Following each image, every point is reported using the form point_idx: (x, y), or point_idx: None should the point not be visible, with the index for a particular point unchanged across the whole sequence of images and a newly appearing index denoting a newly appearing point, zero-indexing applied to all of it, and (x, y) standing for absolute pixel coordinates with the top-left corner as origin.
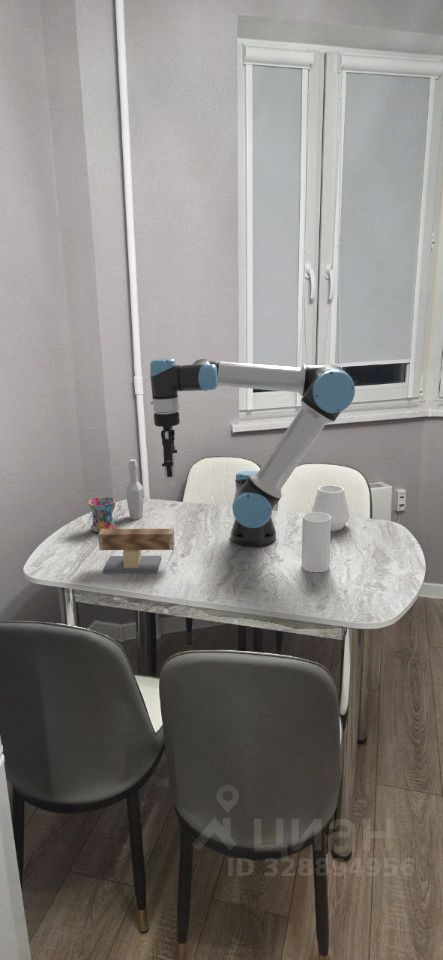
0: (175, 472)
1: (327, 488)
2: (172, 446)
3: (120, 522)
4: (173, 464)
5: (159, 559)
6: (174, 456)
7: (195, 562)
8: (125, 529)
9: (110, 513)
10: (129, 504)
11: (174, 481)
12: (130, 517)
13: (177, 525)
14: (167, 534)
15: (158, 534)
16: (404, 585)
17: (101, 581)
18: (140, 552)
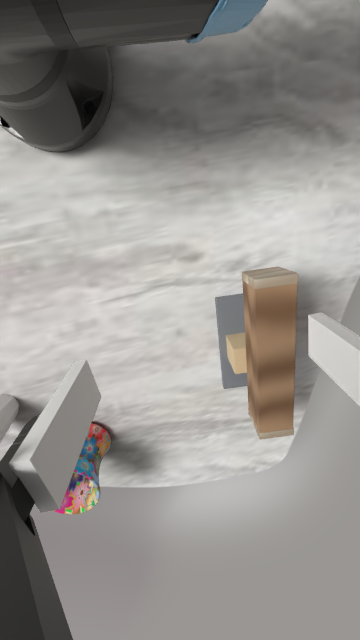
0: (84, 369)
1: None
2: (31, 572)
3: None
4: (71, 409)
5: (235, 298)
6: (41, 447)
7: (225, 220)
8: (262, 393)
9: (80, 453)
10: (1, 437)
11: (340, 325)
12: (16, 414)
13: (21, 310)
14: (296, 286)
15: (295, 310)
16: None
17: (309, 369)
18: (236, 339)
